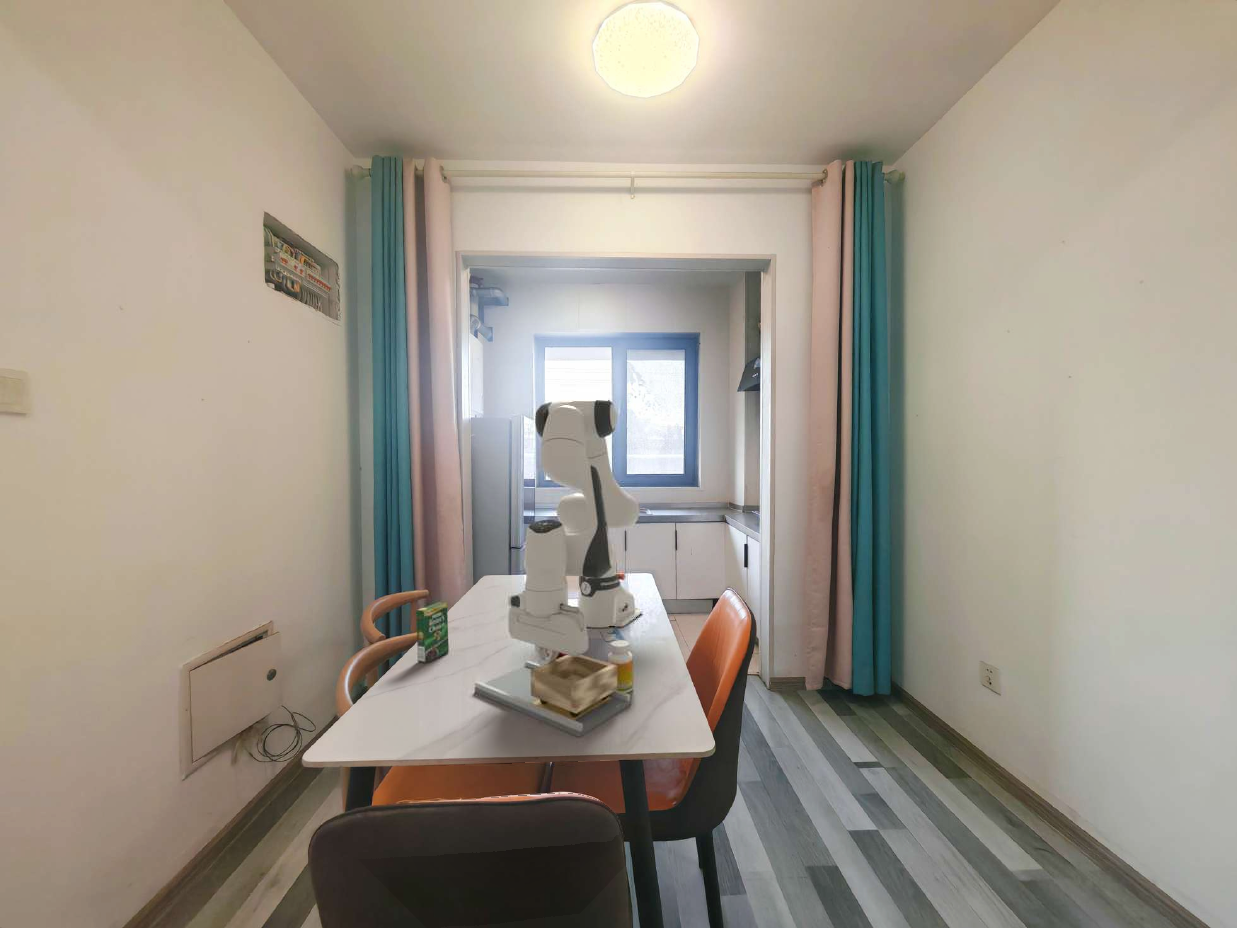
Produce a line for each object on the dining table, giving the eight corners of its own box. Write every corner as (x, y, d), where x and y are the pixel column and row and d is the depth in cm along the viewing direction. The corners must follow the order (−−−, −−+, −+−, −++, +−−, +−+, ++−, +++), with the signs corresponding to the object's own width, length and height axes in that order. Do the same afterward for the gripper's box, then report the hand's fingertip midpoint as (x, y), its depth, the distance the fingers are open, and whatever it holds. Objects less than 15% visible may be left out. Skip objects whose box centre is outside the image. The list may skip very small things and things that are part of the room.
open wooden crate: (573, 682, 108) (572, 652, 108) (617, 698, 101) (617, 665, 101) (531, 704, 99) (530, 670, 99) (576, 722, 91) (575, 686, 91)
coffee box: (424, 664, 123) (424, 610, 123) (416, 662, 124) (415, 609, 124) (449, 653, 130) (448, 602, 130) (441, 651, 131) (440, 600, 131)
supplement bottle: (638, 690, 107) (637, 644, 107) (616, 696, 104) (615, 649, 104) (624, 681, 112) (623, 637, 112) (603, 687, 109) (602, 642, 109)
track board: (528, 668, 119) (528, 660, 119) (630, 704, 101) (630, 694, 101) (474, 691, 107) (474, 682, 107) (579, 737, 89) (579, 725, 89)
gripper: (594, 604, 100) (595, 674, 100) (525, 590, 113) (526, 652, 113) (572, 612, 96) (573, 686, 95) (502, 596, 108) (503, 661, 108)
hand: (547, 667), depth 104 cm, fingers closed
